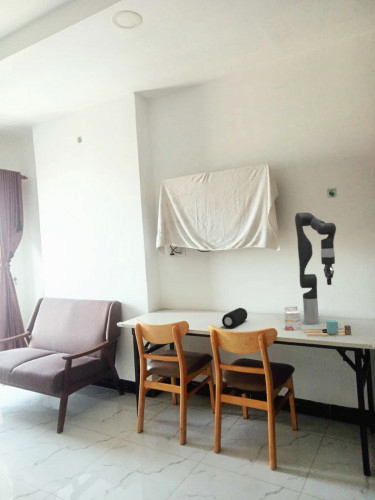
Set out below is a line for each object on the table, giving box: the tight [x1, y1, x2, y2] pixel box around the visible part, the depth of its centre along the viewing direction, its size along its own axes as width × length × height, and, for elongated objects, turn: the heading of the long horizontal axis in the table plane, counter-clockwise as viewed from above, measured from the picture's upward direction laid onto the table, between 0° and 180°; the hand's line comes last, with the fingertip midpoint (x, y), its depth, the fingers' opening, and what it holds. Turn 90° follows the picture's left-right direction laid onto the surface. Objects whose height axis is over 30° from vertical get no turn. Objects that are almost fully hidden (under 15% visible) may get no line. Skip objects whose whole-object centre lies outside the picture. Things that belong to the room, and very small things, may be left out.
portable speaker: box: [221, 307, 248, 329], centre depth 249 cm, size 26×10×10 cm, turn 148°
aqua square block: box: [325, 319, 339, 334], centre depth 209 cm, size 5×5×7 cm
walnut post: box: [343, 324, 352, 336], centre depth 206 cm, size 3×3×5 cm
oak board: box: [302, 327, 353, 338], centre depth 213 cm, size 16×25×1 cm, turn 85°
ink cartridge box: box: [284, 305, 302, 332], centre depth 225 cm, size 9×5×15 cm, turn 92°
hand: (329, 284), depth 213 cm, fingers closed
